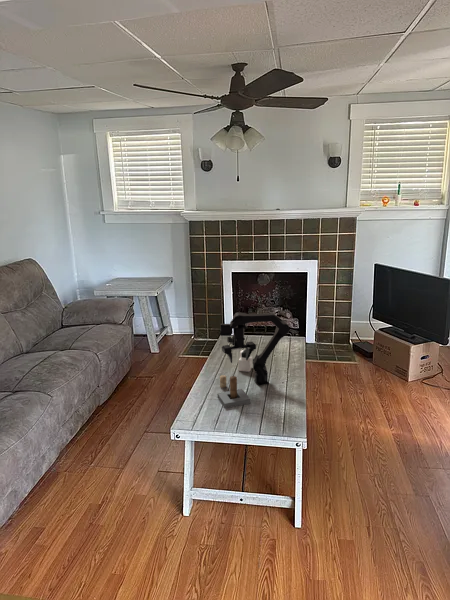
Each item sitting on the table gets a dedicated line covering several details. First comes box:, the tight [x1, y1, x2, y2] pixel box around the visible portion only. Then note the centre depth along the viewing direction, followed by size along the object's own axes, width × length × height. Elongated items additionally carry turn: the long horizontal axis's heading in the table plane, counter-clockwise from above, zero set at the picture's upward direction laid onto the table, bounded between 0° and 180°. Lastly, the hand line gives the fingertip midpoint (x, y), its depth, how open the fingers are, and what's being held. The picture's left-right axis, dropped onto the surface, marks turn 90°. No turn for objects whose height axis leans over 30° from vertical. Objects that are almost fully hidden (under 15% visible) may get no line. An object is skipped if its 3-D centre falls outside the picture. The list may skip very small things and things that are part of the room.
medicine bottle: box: [237, 349, 253, 373], centre depth 257 cm, size 7×7×12 cm
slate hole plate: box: [216, 388, 251, 409], centre depth 221 cm, size 14×12×2 cm
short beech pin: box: [219, 374, 227, 389], centre depth 236 cm, size 4×4×6 cm
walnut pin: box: [229, 375, 238, 399], centre depth 220 cm, size 4×4×13 cm
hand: (239, 361), depth 238 cm, fingers open, 9 cm apart
